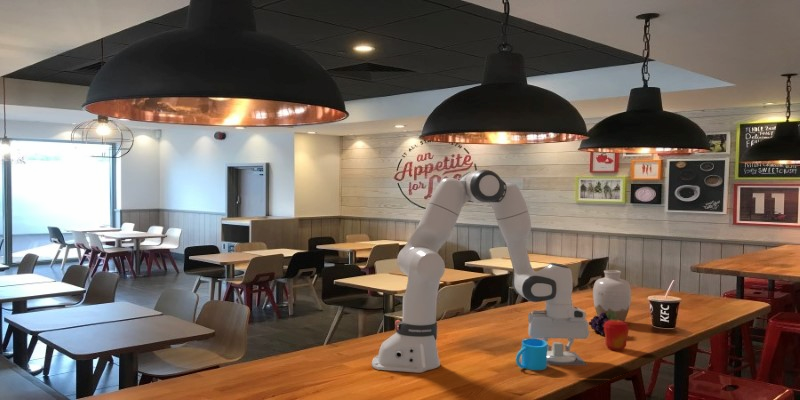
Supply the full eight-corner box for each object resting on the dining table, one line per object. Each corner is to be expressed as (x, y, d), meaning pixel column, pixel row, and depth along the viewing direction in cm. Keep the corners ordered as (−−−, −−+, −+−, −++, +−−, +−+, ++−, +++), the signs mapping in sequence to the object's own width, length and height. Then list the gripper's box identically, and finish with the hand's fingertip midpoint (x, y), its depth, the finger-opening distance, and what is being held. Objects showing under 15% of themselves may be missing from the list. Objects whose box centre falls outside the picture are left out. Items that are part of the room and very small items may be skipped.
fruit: (597, 337, 255) (630, 335, 244) (583, 337, 248) (616, 334, 237) (594, 312, 258) (627, 309, 247) (580, 311, 251) (613, 308, 240)
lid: (544, 362, 205) (544, 348, 205) (536, 352, 217) (536, 338, 217) (580, 363, 205) (580, 348, 205) (570, 353, 217) (570, 339, 217)
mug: (533, 360, 206) (534, 336, 205) (551, 368, 200) (552, 343, 199) (507, 367, 200) (507, 343, 199) (525, 376, 193) (526, 351, 192)
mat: (539, 366, 203) (539, 364, 203) (529, 352, 219) (529, 351, 219) (588, 367, 203) (588, 365, 203) (574, 353, 219) (574, 351, 219)
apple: (633, 350, 224) (633, 318, 223) (616, 353, 220) (617, 320, 219) (614, 345, 231) (615, 313, 231) (598, 347, 227) (599, 315, 227)
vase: (632, 321, 272) (634, 270, 271) (628, 328, 258) (629, 274, 257) (595, 317, 279) (597, 267, 279) (589, 324, 265) (590, 271, 265)
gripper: (530, 312, 207) (529, 352, 208) (590, 313, 207) (589, 353, 207) (526, 308, 213) (525, 347, 214) (585, 309, 213) (584, 348, 214)
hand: (557, 350), depth 211 cm, fingers open, 5 cm apart
